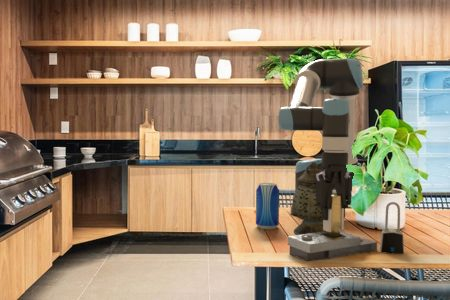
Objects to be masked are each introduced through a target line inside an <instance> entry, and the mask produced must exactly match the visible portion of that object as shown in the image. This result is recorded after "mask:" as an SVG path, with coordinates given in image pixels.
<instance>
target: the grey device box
mask: <svg viewBox="0 0 450 300" xmlns="http://www.w3.org/2000/svg"><path fill="white" fill-rule="evenodd" d="M287 245H288V246H289V255H291V256H293V257H296V258H298V259H301V260H303V261H305V262H310V261H317V260H321V259H329V260H330V259H335V258H341V257H347V256H352V255H353V256H354V255H358V253H359V254H363V253H364V252H365V253H370V252H374V251H377V250H378V242H377V241H375V240H371V239H369V238H365V237H363V236H361V235H357V234H353V233H349V232H347V231H344V230H340V237H338V238H330V237H327V236H326V231H323V232H316V233H309V234H301V235H296V234H295V235H289V236H288V235H287Z"/></svg>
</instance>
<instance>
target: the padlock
mask: <svg viewBox="0 0 450 300" xmlns="http://www.w3.org/2000/svg"><path fill="white" fill-rule="evenodd" d="M392 205H395V206H396V207H397V225H396V226H397V227H396V228H397V229H389V227H388V225H389V207H390V206H392ZM384 221H385V224H384V227H385V228H384V229H382V230H381V235H380V243H379V252H380V253H383V252H386V253H385V254H392V253H395V254H397V255H405V245H404V244H405V242H404V233H403V231H401V207H400V204H398V203H397V202H395V201H391V202H388V203H387V205H386V207H385V219H384Z"/></svg>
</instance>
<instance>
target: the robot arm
mask: <svg viewBox="0 0 450 300" xmlns="http://www.w3.org/2000/svg"><path fill="white" fill-rule="evenodd" d="M294 84H295V85H294V86H295V87H294V90H293V93H292V96H291V98H290V102H289V105H288V106H283V107H280V109H279V110H278V111H279V112H278V126H279V129H280V130H282V131H290V132H293V131H307V132H308V131H309V132H310V131H314V132H315V131H316V132H317V131H320V132H322V135H321V136H322V137H321V138H322V143H321V145H322V146H321V149H322V150H323V152H322V153H321V158H311V159H304V160H299V161H297V162H296V164H295V171H294V174H295V178H294V179H295V180H294V182H295V183H294V185H295V186H294V193H295V192H296V190H297V189H298V187H299V184H300V181H298V178H299V177H301V176H302V175H303V173H304V172H305V171H306V168H307V167H308V166H309V165H310V164H311V163H312V162H316V163H317V165H318V166H320V167H322V168H323V169H322V172H321V173H319V174H315V175H314V176H315V179H316V206H317V207H320V208H322V220H323V230H325V231H328V232H331V220H332V210H331V209H329V208H330V203H331V197H332V194H333V191H335V195H341V221H340V231H344V225H345V224H344V222H345V221H344V220H345V218H346V209H348V208H349V206H351V204H352V195H353V194H352V192H353V191H352V179H353V176H354V173H353V172H348V171H347V168H346V165H348V164H352V165H357V166H361V167H362V163H360V162H359V161H358V160H359V159H358V157H356V156H355V158H354V159H353V157H352V149H351V147H352V145H353V144H354V145H355V131H356V130H355V128H356V127H355V124H356V121H355V119H356V98H357V97H358V96H359V95H360V91H361V90H363V89H364V80H363V70H362V63H361V61H360V60H359V59H358V58H348V57H347V58H332V59H331V58H330V59H329V58H328V59H324V58H323V59H317V60H315V61H311V62H309V63H308V64H306V65H304V66H303V67H302V68H301V69H299V71H298V72H297V74H296V76H295V78H294ZM319 90H323V91H324V90H327V91H328V95H329V96H330V97H331V98H325V99H324V101H323V103H322V106H316V107H315V106H313V105H314V100H315V96H316V92H317V91H319ZM308 169H310V167H309V168H308ZM317 169H318V170H321V169H320V168H319V167H317ZM324 179H325V180H324ZM325 204H326V205H325ZM290 214H291V215H293V216H297V217H298V215H297V214H296V213H295V211H294V208H293V202H292V204H291V207H290Z"/></svg>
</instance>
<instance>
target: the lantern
mask: <svg viewBox="0 0 450 300" xmlns="http://www.w3.org/2000/svg"><path fill="white" fill-rule="evenodd" d="M309 167H310V169H308V168H309ZM317 167H319V168H320V169H321V170H318V169H317ZM322 169H323V168H322V167H320V166H318V165H317V163H316V162H312V163H311V164H310V165H309V166H308V167H307V168H306V171H305V172H304V173H303V175H302V176H301V177H299V178H298V181H300V184H299V187H298V189H297V190H296V192H295V191H294V195H293V197H292V203H293V208H294V211H295V213H296V214H297V215H298V216H297V217H298V218H299V219H300V220H302V222H301V223H300V224H299V225H297V227H295V228H294V229H293V234H295V235H301V234H309V233H316V232H323V231H325V230H323V220H322V208H320V207H317V206H316V179H315V176H314V175H315V174H319V173H321V172H322ZM324 180H325V179H324ZM325 205H326V204H325Z"/></svg>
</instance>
